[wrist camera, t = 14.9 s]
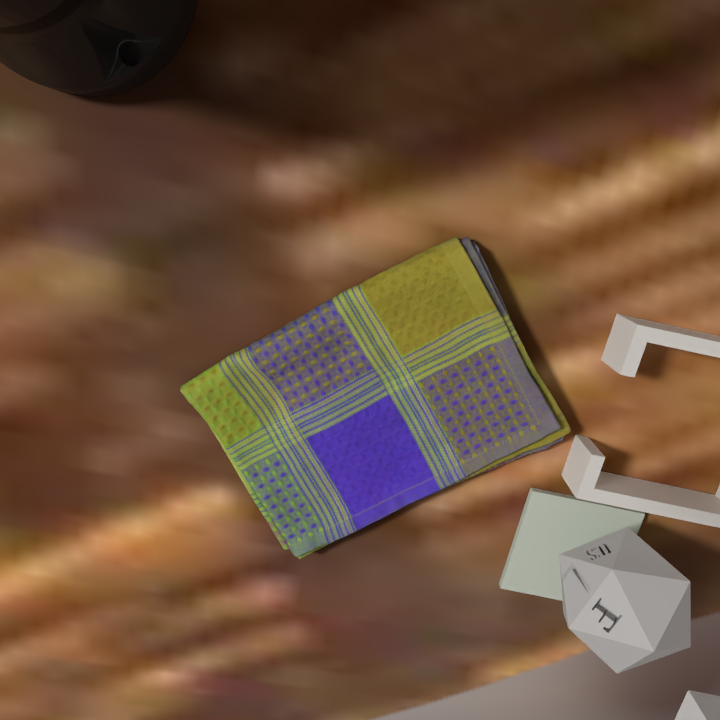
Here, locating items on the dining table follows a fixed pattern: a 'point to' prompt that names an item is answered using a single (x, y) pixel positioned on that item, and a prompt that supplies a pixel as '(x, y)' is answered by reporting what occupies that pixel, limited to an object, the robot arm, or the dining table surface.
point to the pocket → (588, 459)
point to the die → (625, 600)
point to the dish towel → (378, 398)
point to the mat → (557, 538)
